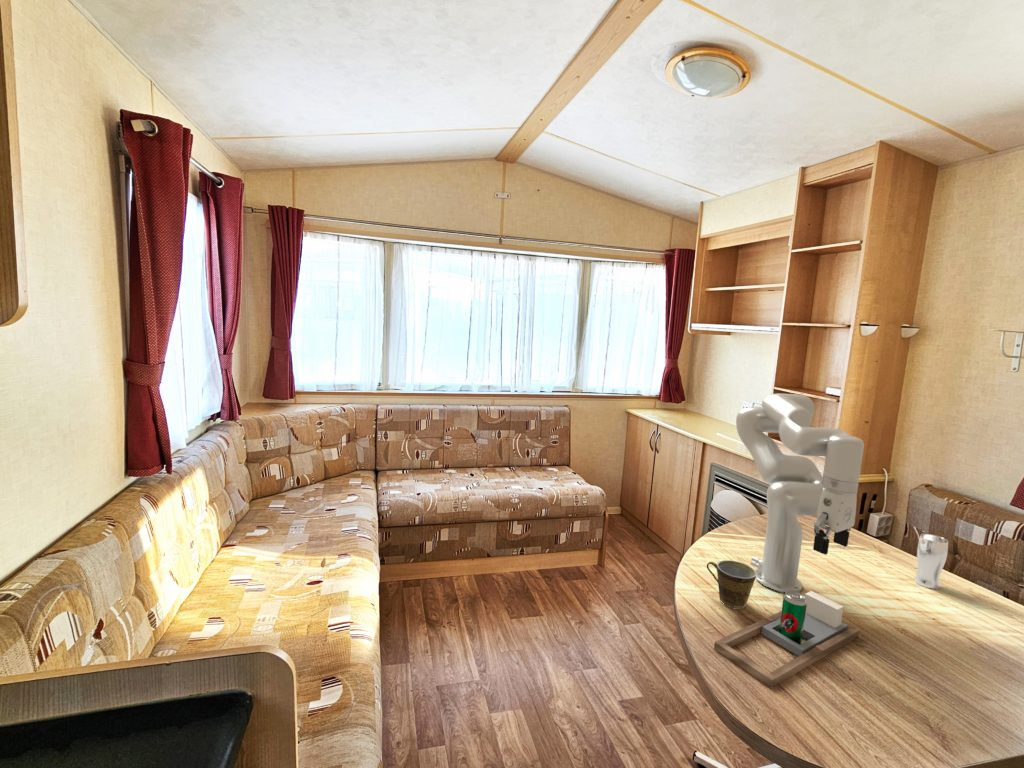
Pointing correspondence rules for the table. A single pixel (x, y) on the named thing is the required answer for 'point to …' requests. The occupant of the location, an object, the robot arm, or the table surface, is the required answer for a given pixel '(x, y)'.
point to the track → (788, 668)
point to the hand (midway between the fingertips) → (830, 548)
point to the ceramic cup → (734, 582)
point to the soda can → (793, 616)
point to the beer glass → (930, 560)
